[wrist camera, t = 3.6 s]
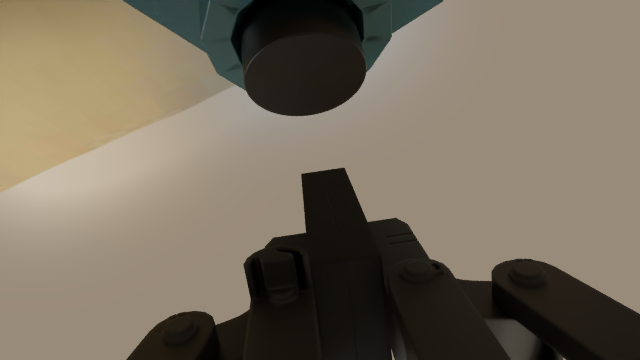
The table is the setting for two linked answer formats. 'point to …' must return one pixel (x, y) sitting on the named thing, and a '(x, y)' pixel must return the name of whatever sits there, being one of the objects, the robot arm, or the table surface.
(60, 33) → the table surface
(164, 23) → the teal block with knob
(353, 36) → the push button
